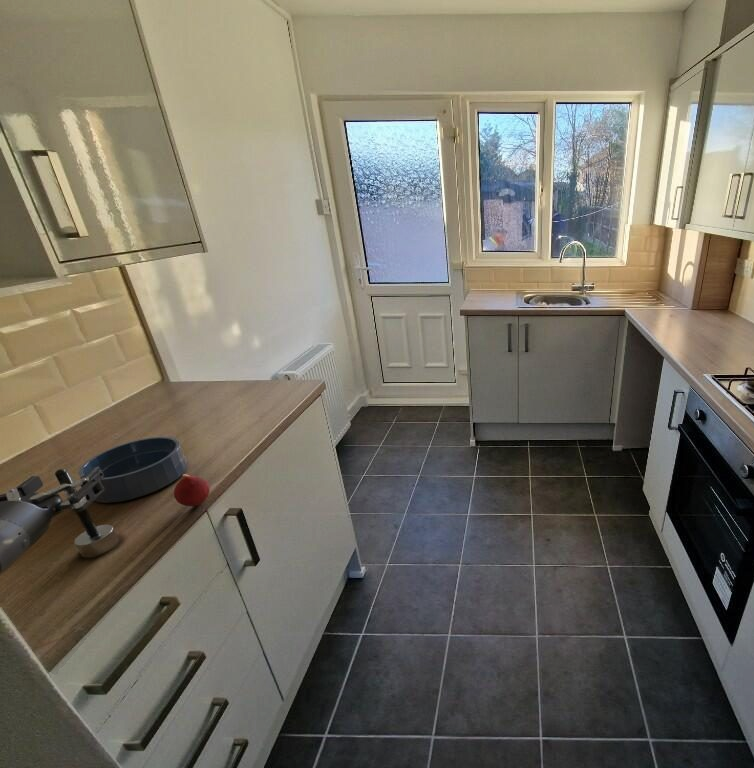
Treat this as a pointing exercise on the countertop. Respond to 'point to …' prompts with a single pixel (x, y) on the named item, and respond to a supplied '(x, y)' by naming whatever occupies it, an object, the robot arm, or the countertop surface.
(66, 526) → the countertop surface
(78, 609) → the countertop surface
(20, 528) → the robot arm
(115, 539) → the weighted rod stand
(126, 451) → the bowl
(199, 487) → the onion
